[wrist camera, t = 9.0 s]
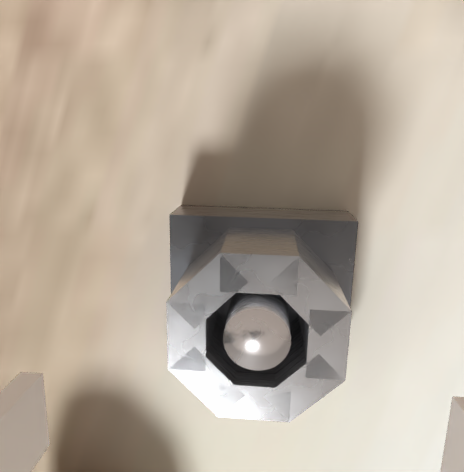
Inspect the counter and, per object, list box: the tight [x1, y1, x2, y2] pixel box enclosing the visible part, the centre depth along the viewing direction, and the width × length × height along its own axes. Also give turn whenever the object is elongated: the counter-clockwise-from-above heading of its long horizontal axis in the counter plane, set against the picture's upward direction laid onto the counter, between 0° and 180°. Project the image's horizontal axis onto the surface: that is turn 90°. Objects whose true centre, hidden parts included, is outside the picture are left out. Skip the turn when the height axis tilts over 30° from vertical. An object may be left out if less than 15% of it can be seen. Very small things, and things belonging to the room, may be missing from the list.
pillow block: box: [170, 205, 358, 371], centre depth 22 cm, size 10×9×8 cm
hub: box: [166, 227, 352, 422], centre depth 21 cm, size 8×8×5 cm
